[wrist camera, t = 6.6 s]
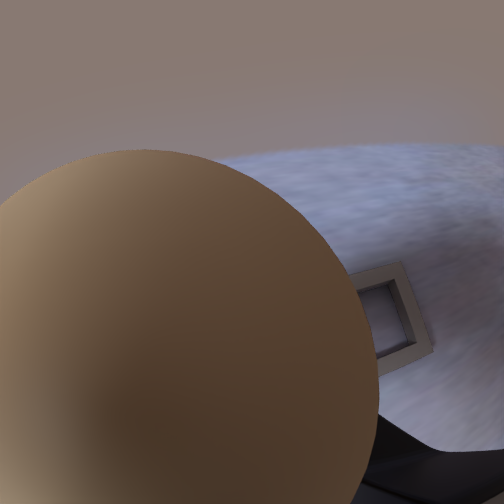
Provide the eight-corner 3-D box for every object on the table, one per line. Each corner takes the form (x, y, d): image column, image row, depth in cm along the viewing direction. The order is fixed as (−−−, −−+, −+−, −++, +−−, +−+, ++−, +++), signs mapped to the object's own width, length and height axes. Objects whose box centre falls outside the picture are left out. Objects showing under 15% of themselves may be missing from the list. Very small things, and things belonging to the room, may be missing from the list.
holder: (425, 354, 21) (433, 351, 20) (340, 389, 20) (346, 389, 19) (393, 266, 24) (400, 260, 23) (309, 290, 23) (313, 284, 22)
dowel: (269, 403, 15) (462, 431, 2) (199, 445, 14) (68, 624, 1) (223, 337, 17) (199, 98, 3) (155, 377, 16) (-86, 277, 2)
